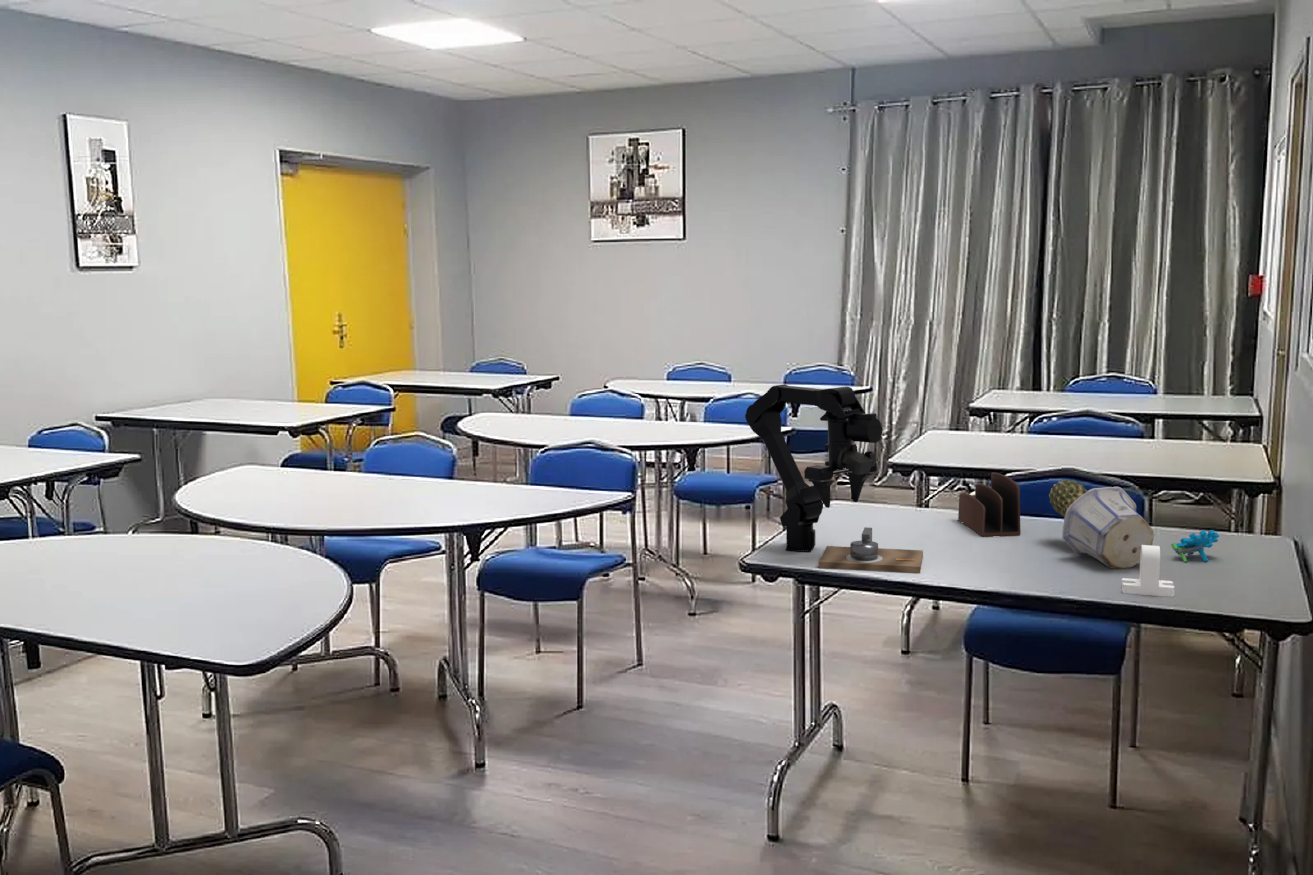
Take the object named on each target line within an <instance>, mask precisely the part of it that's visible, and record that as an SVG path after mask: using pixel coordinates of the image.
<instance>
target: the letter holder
mask: <svg viewBox="0 0 1313 875" xmlns="http://www.w3.org/2000/svg"><path fill="white" fill-rule="evenodd" d="M974 487H975V488H974V490H975V491H974V496H973V495H972V494H968V493H966V492H960V494H959V497H958V514H957V516H958V518H957V520H958V521H959V522H960V523H962V522H963V523H962V524H964V525H965V526H966V527H968V528H969V529H971V530H972V531H974V533H976V534H978V535H979V536H980V537H982V536H983V537H982V538H994V537H993V536H1000V537H1019V536H1021V533H1022V532H1021V498H1020V496H1021V491H1020V490H1021V489H1020V485H1019V484H1018V483H1017V482H1016V481H1015V480H1013V479H1012V478H1010V477H1009V476H1006V475H1004V474H1002V473H999V472H993V471H992V472H991V476H990V486H988V485H986V484H984V483H975V486H974Z"/></svg>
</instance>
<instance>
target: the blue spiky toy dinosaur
mask: <svg viewBox="0 0 1313 875" xmlns="http://www.w3.org/2000/svg"><path fill="white" fill-rule="evenodd" d="M1219 537H1220V535H1219V533H1218V532H1217V531H1215V529H1214V530H1213V529H1211V530H1210V529H1209V530H1208V531H1206V530H1205V529H1203V530H1201V531H1199V535H1196V533H1195V532H1192V533H1190V534H1189V535H1188V538H1187V537H1182V538H1181V539H1180V540H1179V541H1180V542H1178V543H1174V542H1173V543H1172V544H1170V545H1171V547H1172V549H1173V551H1174V552H1175V553H1176V554H1177V555H1180V557H1181V559H1182V560H1183V563H1187V562H1188V560H1187V557H1186V556H1185V555H1186V554H1187V555H1188V556H1191V555H1194V554H1195V553H1197V552H1198V554H1199V555H1200V557H1201V559H1202V562H1203V563H1206V562H1209V559H1208V557H1207V555H1206V553H1205V551H1204V550H1205V549H1204V548H1208V549H1209V548H1210V549H1211V547H1213V543H1215V544H1216V543H1217V542H1218V541H1219V539H1218V538H1219Z"/></svg>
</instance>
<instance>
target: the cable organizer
mask: <svg viewBox="0 0 1313 875" xmlns="http://www.w3.org/2000/svg"><path fill="white" fill-rule="evenodd" d="M1160 566H1161V548H1160V545H1153V544H1152V545H1141V554H1140V561H1139V578H1121V589H1122V592H1121V593H1123V594H1128V595H1142V596H1155V597H1169V598H1173V597H1175V585H1174V582H1173V581H1172V580H1162V579H1161V580H1160V571H1161V569H1160Z"/></svg>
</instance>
